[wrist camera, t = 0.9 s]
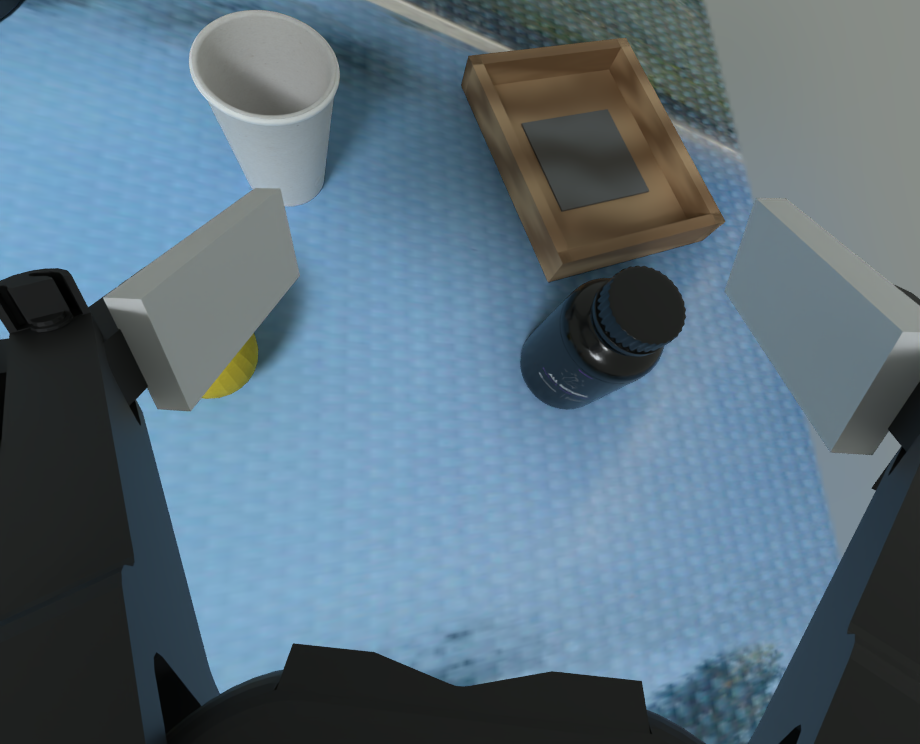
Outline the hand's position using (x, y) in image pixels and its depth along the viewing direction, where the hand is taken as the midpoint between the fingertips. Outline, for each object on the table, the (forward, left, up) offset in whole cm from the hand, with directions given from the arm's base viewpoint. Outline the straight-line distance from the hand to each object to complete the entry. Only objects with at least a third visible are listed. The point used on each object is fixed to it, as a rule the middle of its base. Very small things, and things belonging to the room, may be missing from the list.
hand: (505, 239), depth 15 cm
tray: (-17, +22, -22) cm, 35 cm away
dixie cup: (-21, -3, -22) cm, 31 cm away
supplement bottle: (0, +12, -22) cm, 25 cm away
